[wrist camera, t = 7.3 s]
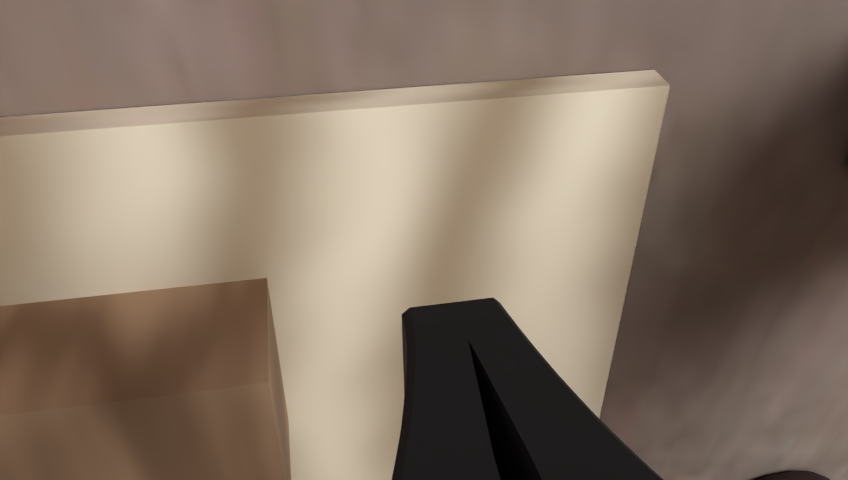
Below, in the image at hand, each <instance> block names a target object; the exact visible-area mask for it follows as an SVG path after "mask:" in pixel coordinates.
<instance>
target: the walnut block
mask: <svg viewBox="0 0 848 480" xmlns="http://www.w3.org/2000/svg"><path fill="white" fill-rule="evenodd" d="M0 480H291V466H290V443H289V420H288V413H287V406H286V400H285V393H284V387H283V380H282V374H281V367H280V361H279V354H278V348H277V341H276V335H275V328H274V321H273V315H272V308H271V302H270V295H269V289H268V282H267V278H261V279H252V280H242V281H233V282H223V283H214V284H204V285H195V286H185V287H176V288H167V289H157V290H148V291H138V292H129V293H119V294H110V295H100V296H91V297H81V298H72V299H63V300H53V301H44V302H34V303H25V304H15V305H6V306H0Z"/></svg>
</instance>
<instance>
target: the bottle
mask: <svg viewBox="0 0 848 480" xmlns="http://www.w3.org/2000/svg"><path fill="white" fill-rule="evenodd" d="M758 480H830V479H828V478H827V477H824V476H822V475H819V474H816V473H814V472H803V471H789V472H784V473H778V474H773V475H769V476H766V477H764V478H761V479H758Z"/></svg>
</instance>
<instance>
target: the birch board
mask: <svg viewBox="0 0 848 480" xmlns="http://www.w3.org/2000/svg"><path fill="white" fill-rule="evenodd" d="M669 87H670V85H669V84H668V83H667V82H666V81H665V80H664V79H663V78H662V77H661V76H660V75H659V74H658V73H657V72H656V71H655V70H644V71H631V72H617V73H603V74H589V75H576V76H562V77H548V78H534V79H520V80H507V81H493V82H479V83H465V84H452V85H438V86H424V87H410V88H397V89H383V90H369V91H355V92H341V93H328V94H314V95H300V96H286V97H273V98H259V99H245V100H231V101H218V102H204V103H190V104H176V105H163V106H149V107H135V108H121V109H107V110H94V111H80V112H66V113H52V114H39V115H25V116H11V117H0V306H6V305H15V304H25V303H34V302H44V301H53V300H63V299H72V298H81V297H91V296H100V295H110V294H119V293H129V292H138V291H148V290H157V289H167V288H176V287H185V286H195V285H204V284H214V283H223V282H233V281H242V280H252V279H261V278H267V282H268V289H269V295H270V302H271V308H272V315H273V321H274V328H275V335H276V341H277V348H278V354H279V361H280V367H281V374H282V380H283V387H284V393H285V400H286V406H287V413H288V420H289V443H290V466H291V480H392V475H393V470H394V465H395V459H396V454H397V449H398V443H399V438H400V431H401V425H402V415H403V406H404V370H403V341H402V314H403V313H404V312H405V311H406V310H407V309H408V308H410V307H418V306H426V305H435V304H443V303H451V302H460V301H468V300H476V299H485V298H495V299H496V300H497V301H499V302H500V303H501V305H502V306H503V307H504V309H505V310H506V311H507V313H508V314H509V315H510V316H511V318H512V319H513V320H514V322H515V323H516V324H517V326H518V327H519V328H520V329H521V331H522V332H523V333H524V334H525V336H526V337H527V338H528V339H529V341H530V342H531V343H532V344H533V345H534V347H535V348H536V349H537V350H538V351H539V353H540V354H541V355H542V356H543V357H544V359H545V360H546V361H547V362H548V363H549V364H550V366H551V367H552V368H553V369H554V370H555V371H556V372H557V374H558V375H559V376H560V377H561V378H562V379H563V380H564V381H565V383H566V384H567V385H568V386H569V387H570V388H571V389H572V390H573V391H574V392H575V393H576V394H577V396H578V397H579V398H580V399H581V400H582V401H583V402H584V403H585V404H586V405H587V406H588V407H589V409H590V410H591V411H592V412H593V413H594V414H595V415H596V416H597V417H598V418H600V413H601V408H602V403H603V399H604V394H605V389H606V385H607V380H608V375H609V370H610V366H611V361H612V356H613V352H614V347H615V342H616V337H617V333H618V328H619V323H620V319H621V314H622V309H623V304H624V300H625V295H626V290H627V286H628V281H629V276H630V271H631V267H632V262H633V257H634V253H635V248H636V243H637V238H638V234H639V229H640V224H641V220H642V215H643V210H644V205H645V201H646V196H647V191H648V186H649V182H650V177H651V172H652V168H653V163H654V158H655V153H656V149H657V144H658V139H659V135H660V130H661V125H662V120H663V116H664V111H665V106H666V102H667V97H668V92H669Z"/></svg>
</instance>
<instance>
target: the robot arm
mask: <svg viewBox="0 0 848 480" xmlns="http://www.w3.org/2000/svg"><path fill="white" fill-rule="evenodd" d="M402 341H403V370H404V406H403V415H402V425H401V431H400V438H399V443H398V449H397V454H396V459H395V465H394V470H393V475H392V480H663V479H662V478H661V477H660V476H659V475H658V474H656V473H655V472H654V471H653V470H652V469H651V468H650V467H649V466H648V465H647V464H645V463H644V462H643V461H642V460H641V459H640V458H639V457H638V456H637V455H636V454H635V453H634V452H633V451H632V450H631V449H630V448H628V447H627V446H626V445H625V444H624V443H623V442H622V441H621V440H620V439H619V438H618V437H617V436H616V435H615V434H614V433H613V432H612V431H611V430H610V429H609V428H608V427H607V426H606V425H605V424H604V423H603V422H602V421H601V420H600V419H599V418H598V417H597V416H596V415H595V414H594V413H593V412H592V411H591V410H590V409H589V407H588V406H587V405H586V404H585V403H584V402H583V401H582V400H581V399H580V398H579V397H578V396H577V394H576V393H575V392H574V391H573V390H572V389H571V388H570V387H569V386H568V385H567V384H566V383H565V381H564V380H563V379H562V378H561V377H560V376H559V375H558V374H557V372H556V371H555V370H554V369H553V368H552V367H551V366H550V364H549V363H548V362H547V361H546V360H545V359H544V357H543V356H542V355H541V354H540V353H539V351H538V350H537V349H536V348H535V347H534V345H533V344H532V343H531V342H530V341H529V339H528V338H527V337H526V336H525V334H524V333H523V332H522V331H521V329H520V328H519V327H518V326H517V324H516V323H515V322H514V320H513V319H512V318H511V316H510V315H509V314H508V313H507V311H506V310H505V309H504V307H503V306H502V305H501V303H500V302H499V301H497V300H496V299H495V298H485V299H476V300H468V301H460V302H451V303H443V304H435V305H426V306H418V307H410V308H408V309H407V310H406V311H405V312H404V313H403V314H402Z"/></svg>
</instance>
